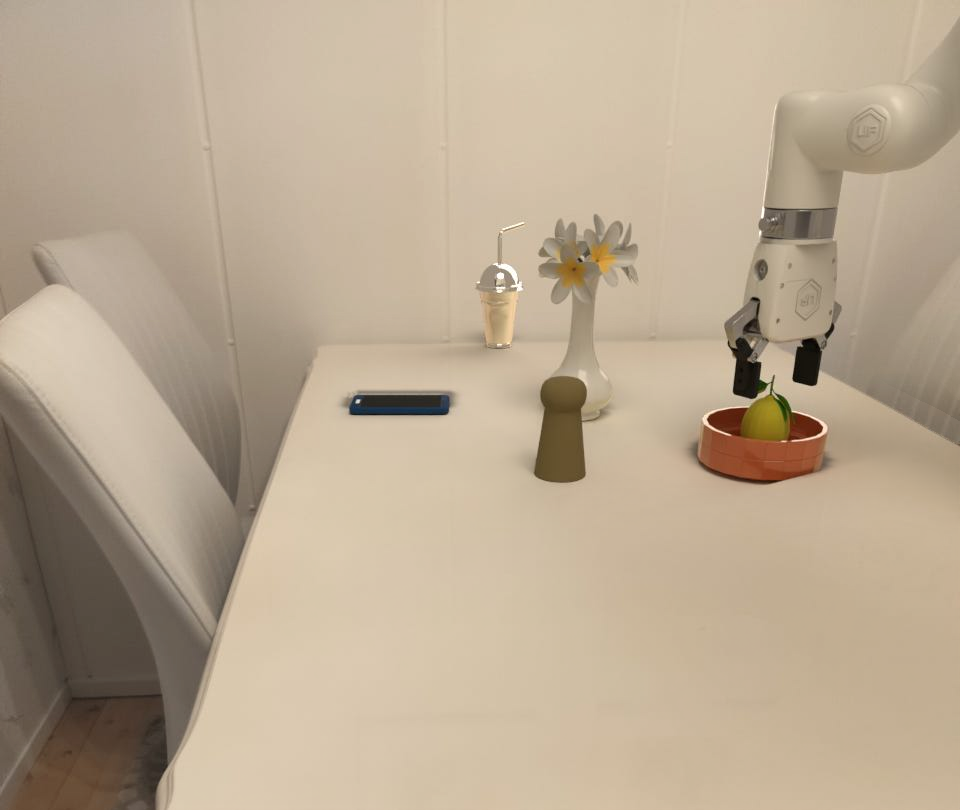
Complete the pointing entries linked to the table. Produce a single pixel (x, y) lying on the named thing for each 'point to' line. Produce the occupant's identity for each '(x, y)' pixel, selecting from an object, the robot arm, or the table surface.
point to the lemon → (767, 417)
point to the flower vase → (586, 296)
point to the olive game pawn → (561, 430)
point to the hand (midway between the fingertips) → (775, 389)
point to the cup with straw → (499, 298)
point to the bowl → (760, 447)
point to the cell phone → (400, 404)
